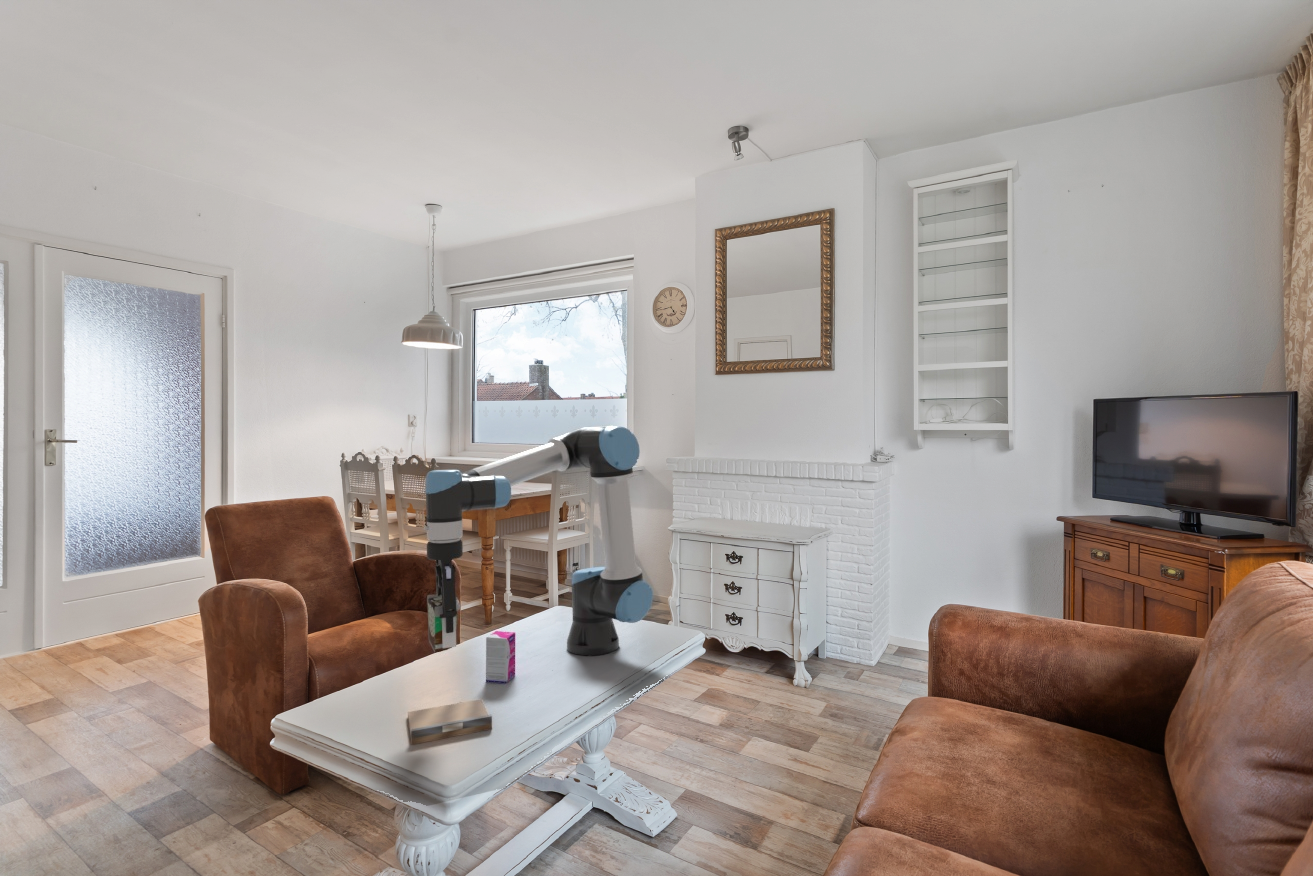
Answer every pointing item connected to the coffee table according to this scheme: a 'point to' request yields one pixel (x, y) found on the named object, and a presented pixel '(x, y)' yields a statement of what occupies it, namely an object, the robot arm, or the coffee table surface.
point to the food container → (436, 621)
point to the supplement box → (500, 657)
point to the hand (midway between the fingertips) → (446, 639)
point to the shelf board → (448, 721)
